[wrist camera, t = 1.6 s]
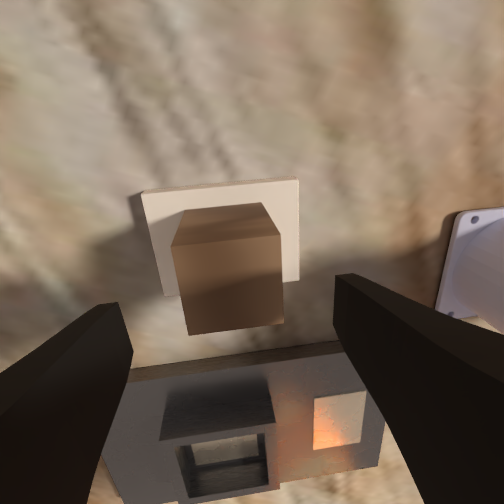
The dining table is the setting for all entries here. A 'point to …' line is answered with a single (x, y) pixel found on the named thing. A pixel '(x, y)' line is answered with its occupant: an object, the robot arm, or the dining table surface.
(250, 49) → the dining table surface
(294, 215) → the beige rectangular block
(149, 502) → the gray socket plate
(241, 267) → the walnut block
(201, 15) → the dining table surface
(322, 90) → the dining table surface
